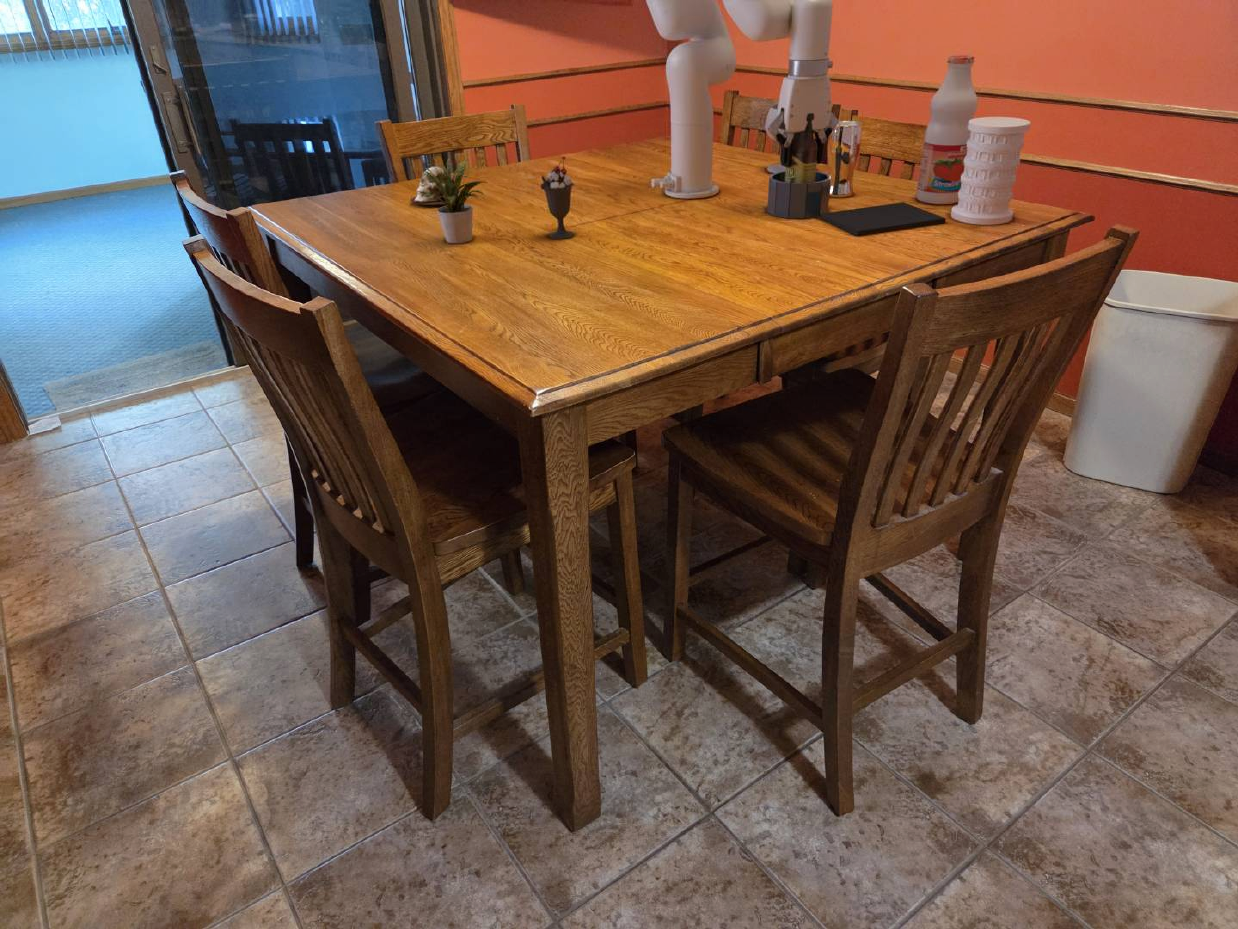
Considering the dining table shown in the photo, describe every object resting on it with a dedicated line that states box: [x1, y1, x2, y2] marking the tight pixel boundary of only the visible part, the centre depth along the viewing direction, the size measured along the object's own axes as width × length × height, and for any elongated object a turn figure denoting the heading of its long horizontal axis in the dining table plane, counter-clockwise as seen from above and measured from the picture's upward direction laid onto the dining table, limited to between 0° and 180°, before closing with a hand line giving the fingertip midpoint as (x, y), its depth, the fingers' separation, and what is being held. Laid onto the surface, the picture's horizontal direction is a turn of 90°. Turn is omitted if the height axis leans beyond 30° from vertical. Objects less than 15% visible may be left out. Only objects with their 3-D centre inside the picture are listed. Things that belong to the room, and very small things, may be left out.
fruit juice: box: [915, 54, 979, 205], centre depth 169 cm, size 9×9×28 cm
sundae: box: [540, 156, 575, 240], centre depth 162 cm, size 7×7×15 cm
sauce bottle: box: [785, 113, 818, 183], centre depth 169 cm, size 6×6×20 cm
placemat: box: [819, 201, 946, 237], centre depth 165 cm, size 20×14×1 cm
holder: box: [766, 170, 831, 220], centre depth 172 cm, size 13×13×7 cm
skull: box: [410, 166, 459, 206], centre depth 193 cm, size 12×10×10 cm
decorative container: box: [950, 116, 1031, 226], centre depth 160 cm, size 12×12×18 cm
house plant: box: [415, 156, 485, 244], centre depth 161 cm, size 14×14×16 cm
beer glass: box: [826, 120, 862, 198], centre depth 180 cm, size 7×7×15 cm
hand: (800, 163), depth 169 cm, fingers closed on sauce bottle, 6 cm apart
